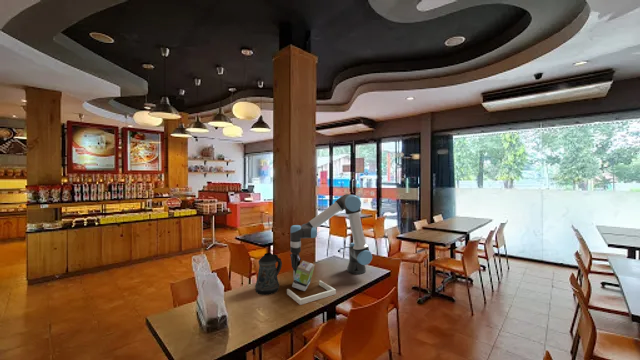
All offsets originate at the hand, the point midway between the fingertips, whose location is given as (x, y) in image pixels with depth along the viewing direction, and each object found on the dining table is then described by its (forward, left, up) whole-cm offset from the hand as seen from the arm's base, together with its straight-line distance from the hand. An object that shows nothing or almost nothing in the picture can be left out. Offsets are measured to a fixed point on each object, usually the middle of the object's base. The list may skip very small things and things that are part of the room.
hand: (295, 278), depth 198 cm
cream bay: (0, +22, -3) cm, 22 cm away
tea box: (0, +8, -2) cm, 8 cm away
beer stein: (+21, -1, -4) cm, 21 cm away
